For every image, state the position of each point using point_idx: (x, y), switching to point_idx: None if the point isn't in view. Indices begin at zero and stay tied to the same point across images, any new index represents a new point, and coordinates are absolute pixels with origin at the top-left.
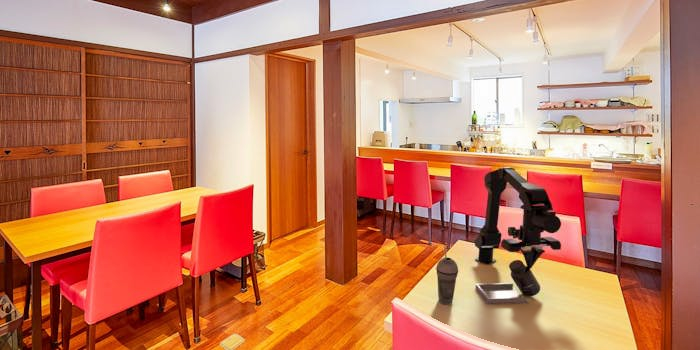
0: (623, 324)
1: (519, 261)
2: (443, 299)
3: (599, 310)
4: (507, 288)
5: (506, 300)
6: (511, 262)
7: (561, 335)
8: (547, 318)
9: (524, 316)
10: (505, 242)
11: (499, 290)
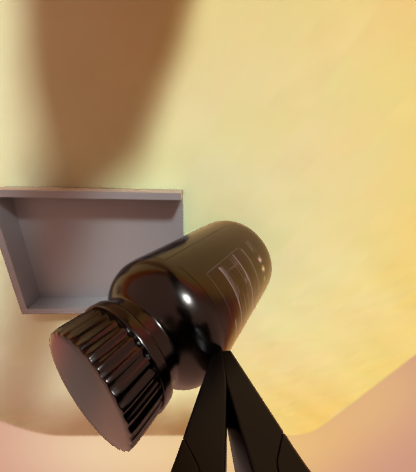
0: (367, 388)
1: (116, 417)
2: None
3: (374, 339)
4: (155, 202)
5: None
6: (65, 340)
7: (188, 415)
8: None
9: None
10: None
11: (110, 217)
